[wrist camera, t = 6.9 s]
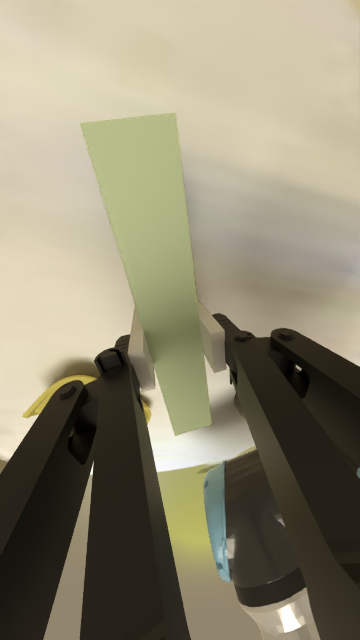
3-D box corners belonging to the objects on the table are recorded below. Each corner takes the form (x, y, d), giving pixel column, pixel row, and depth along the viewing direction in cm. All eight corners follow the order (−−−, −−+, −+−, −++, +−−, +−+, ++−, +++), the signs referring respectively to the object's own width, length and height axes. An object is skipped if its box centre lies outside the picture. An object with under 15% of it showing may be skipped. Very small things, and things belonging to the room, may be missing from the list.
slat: (107, 172, 10) (80, 123, 6) (162, 164, 11) (175, 112, 6) (168, 391, 20) (175, 435, 15) (196, 383, 20) (211, 424, 16)
